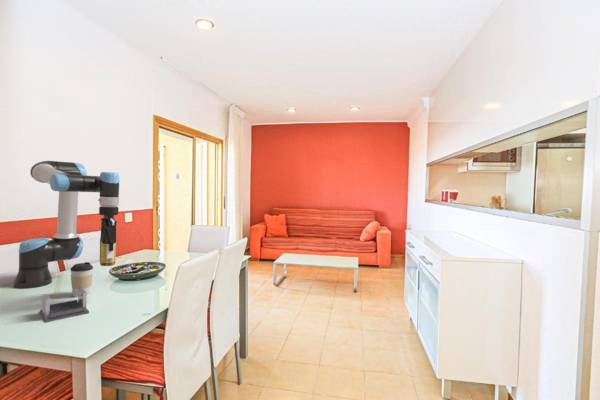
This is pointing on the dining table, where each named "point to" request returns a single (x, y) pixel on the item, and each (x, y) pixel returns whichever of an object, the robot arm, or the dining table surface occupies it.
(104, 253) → the sauce bottle
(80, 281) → the coffee cup
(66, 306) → the clip holder
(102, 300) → the dining table surface
